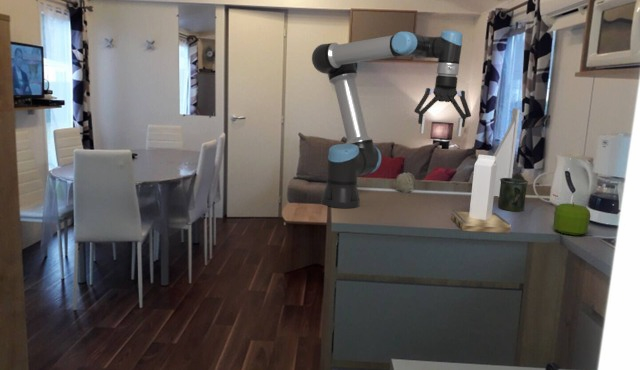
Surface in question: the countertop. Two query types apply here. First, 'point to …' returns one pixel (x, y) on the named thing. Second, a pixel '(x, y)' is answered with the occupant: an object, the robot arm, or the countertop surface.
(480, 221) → the dock
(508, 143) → the white bracket plate
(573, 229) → the apple
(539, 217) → the countertop surface
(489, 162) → the milk
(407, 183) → the grey-green ball
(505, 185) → the mug
